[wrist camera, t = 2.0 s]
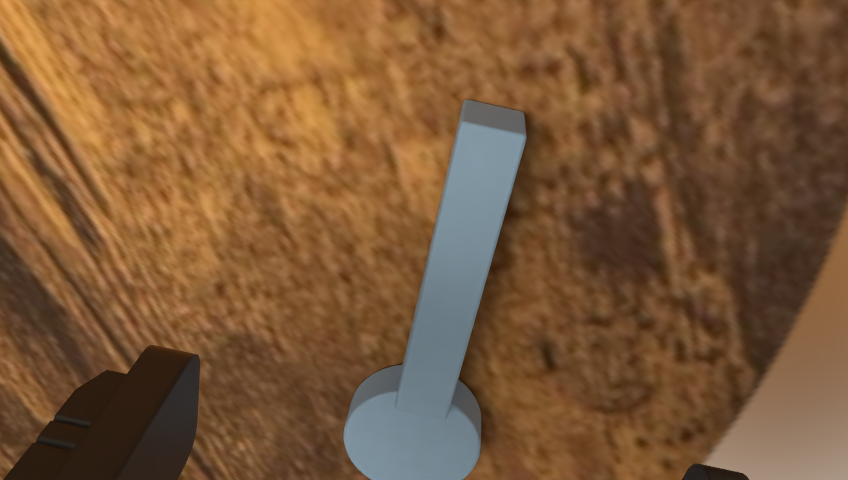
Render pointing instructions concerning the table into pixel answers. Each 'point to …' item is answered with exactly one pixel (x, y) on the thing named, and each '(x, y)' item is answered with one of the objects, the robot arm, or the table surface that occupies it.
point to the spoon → (442, 317)
